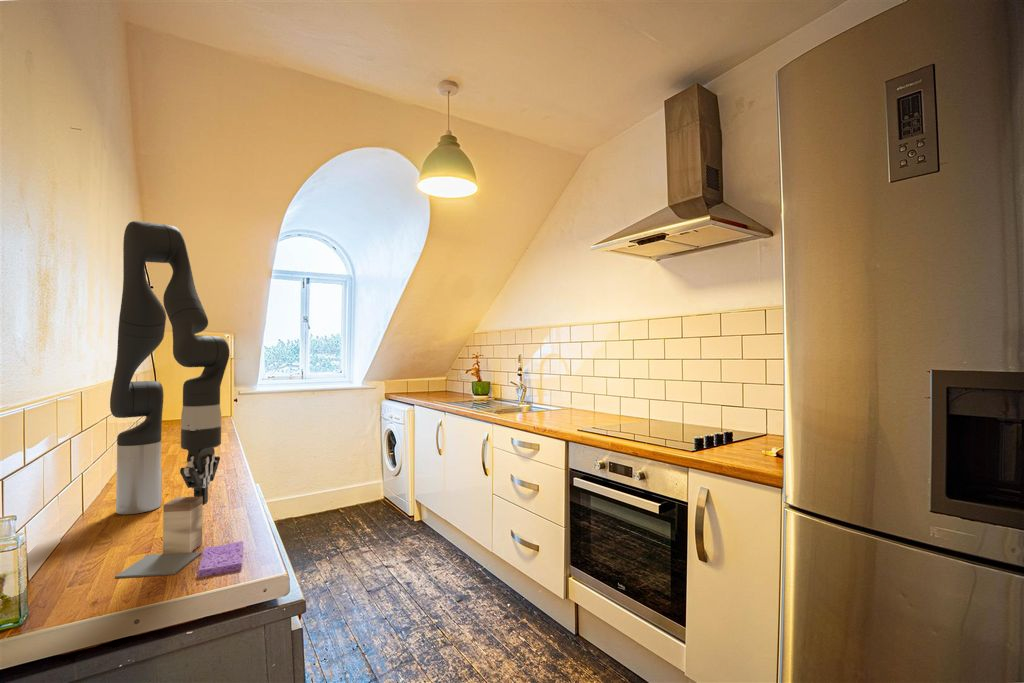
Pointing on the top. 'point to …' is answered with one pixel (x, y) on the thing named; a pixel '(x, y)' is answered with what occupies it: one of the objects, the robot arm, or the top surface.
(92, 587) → the top surface
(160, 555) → the mat
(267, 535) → the top surface
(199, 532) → the birch block
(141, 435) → the robot arm
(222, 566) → the sponges
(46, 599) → the top surface
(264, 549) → the top surface
